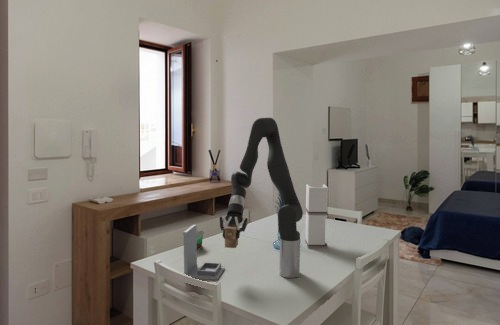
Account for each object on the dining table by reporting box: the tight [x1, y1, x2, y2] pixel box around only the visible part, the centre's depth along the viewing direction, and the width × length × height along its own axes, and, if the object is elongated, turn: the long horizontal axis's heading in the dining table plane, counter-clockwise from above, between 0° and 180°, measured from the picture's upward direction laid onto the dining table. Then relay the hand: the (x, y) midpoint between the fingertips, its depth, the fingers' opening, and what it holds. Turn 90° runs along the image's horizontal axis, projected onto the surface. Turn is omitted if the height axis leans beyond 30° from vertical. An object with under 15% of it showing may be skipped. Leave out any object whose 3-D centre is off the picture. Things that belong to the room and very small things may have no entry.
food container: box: [182, 229, 205, 250], centre depth 200 cm, size 12×6×10 cm, turn 105°
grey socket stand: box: [183, 224, 225, 281], centre depth 165 cm, size 16×13×21 cm
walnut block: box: [224, 225, 239, 249], centre depth 162 cm, size 5×6×9 cm
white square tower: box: [304, 183, 329, 249], centre depth 205 cm, size 11×11×35 cm
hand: (230, 238), depth 160 cm, fingers closed on walnut block, 5 cm apart
